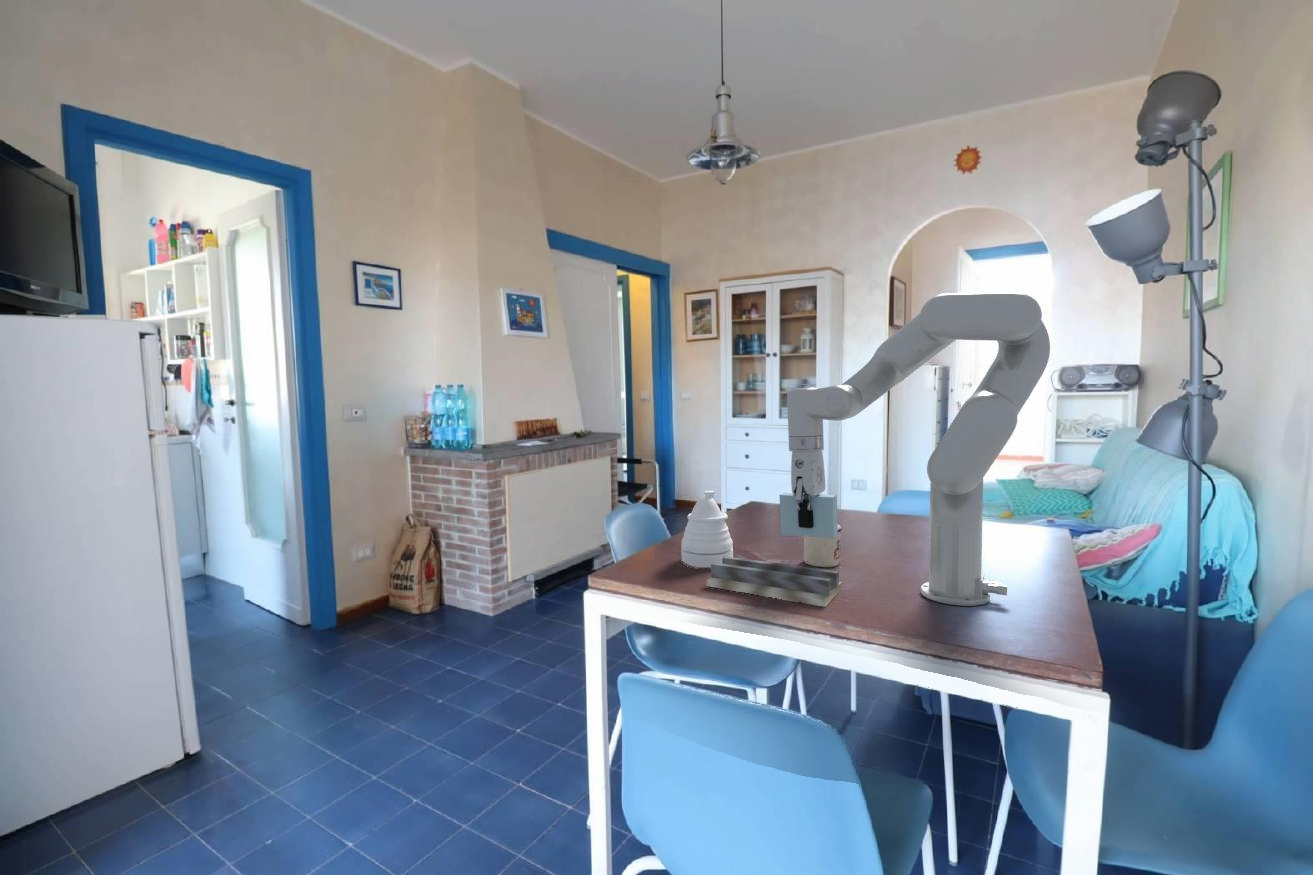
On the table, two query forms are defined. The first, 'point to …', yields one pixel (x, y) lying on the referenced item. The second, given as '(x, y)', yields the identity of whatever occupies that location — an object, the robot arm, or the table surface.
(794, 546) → the table surface
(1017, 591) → the table surface
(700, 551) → the honey pot
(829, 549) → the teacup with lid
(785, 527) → the door panel
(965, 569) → the robot arm
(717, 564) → the track board
